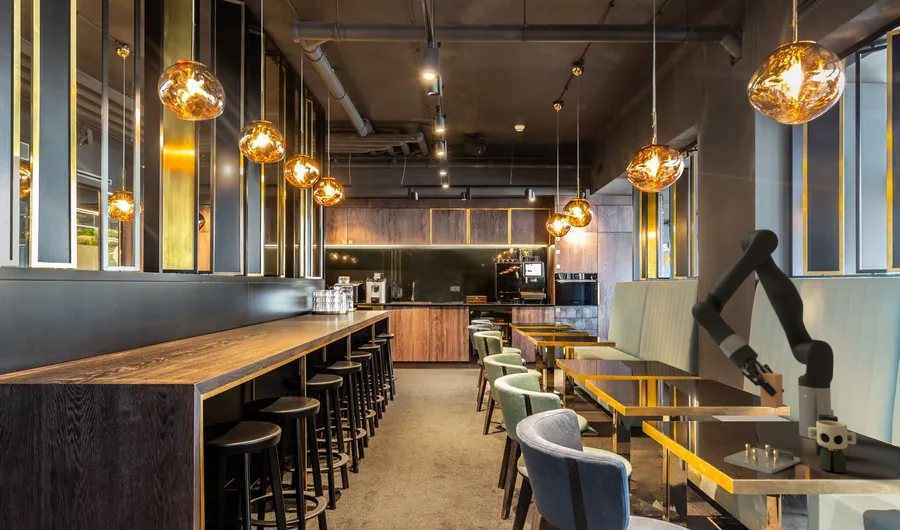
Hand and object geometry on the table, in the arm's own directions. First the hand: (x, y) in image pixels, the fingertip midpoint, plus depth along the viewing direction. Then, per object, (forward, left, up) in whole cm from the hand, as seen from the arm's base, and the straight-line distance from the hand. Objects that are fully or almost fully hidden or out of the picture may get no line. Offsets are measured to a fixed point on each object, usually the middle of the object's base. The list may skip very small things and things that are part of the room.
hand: (778, 393), depth 170 cm
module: (+1, -2, -4) cm, 5 cm away
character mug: (-2, +17, -18) cm, 25 cm away
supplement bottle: (-13, +5, -18) cm, 23 cm away
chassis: (+12, +7, -18) cm, 23 cm away
